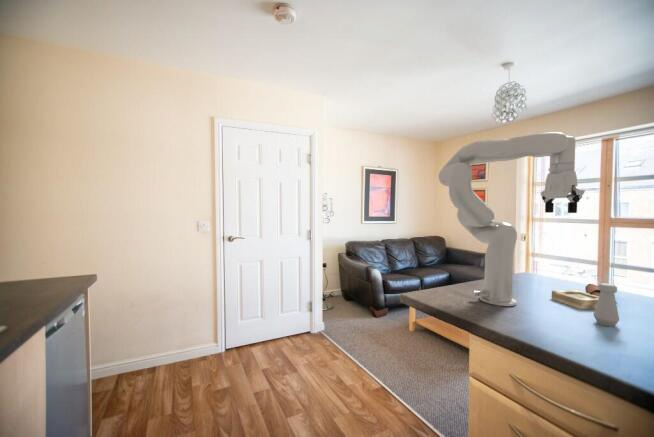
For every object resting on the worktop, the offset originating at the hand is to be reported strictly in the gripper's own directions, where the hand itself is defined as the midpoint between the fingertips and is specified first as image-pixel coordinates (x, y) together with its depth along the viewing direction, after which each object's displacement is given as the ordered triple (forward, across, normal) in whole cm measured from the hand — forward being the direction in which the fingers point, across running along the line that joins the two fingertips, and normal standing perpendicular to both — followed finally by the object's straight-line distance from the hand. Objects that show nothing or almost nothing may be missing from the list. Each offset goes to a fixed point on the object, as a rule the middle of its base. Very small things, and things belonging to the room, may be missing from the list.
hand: (560, 212), depth 110 cm
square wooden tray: (+36, +3, +7) cm, 36 cm away
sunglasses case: (+35, -1, +21) cm, 41 cm away
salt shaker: (+36, +21, -5) cm, 42 cm away
